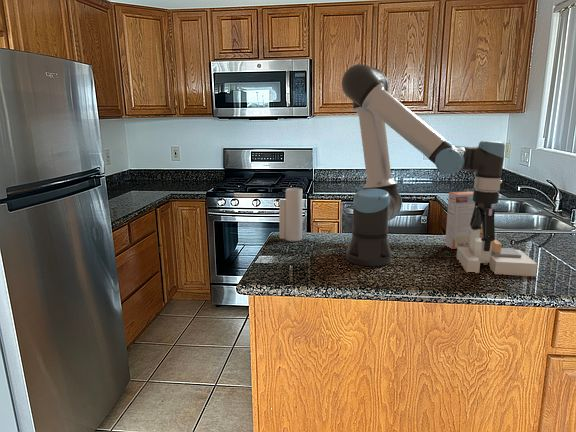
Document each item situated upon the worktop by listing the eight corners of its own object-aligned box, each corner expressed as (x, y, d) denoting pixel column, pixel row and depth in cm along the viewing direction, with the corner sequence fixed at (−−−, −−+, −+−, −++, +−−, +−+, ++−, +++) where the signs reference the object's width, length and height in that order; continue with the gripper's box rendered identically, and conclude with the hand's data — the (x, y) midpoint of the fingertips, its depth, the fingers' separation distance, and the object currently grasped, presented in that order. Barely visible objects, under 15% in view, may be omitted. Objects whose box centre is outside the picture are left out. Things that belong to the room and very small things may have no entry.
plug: (473, 265, 141) (475, 241, 140) (469, 261, 146) (471, 237, 144) (489, 266, 140) (492, 242, 139) (485, 262, 145) (487, 238, 144)
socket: (466, 272, 135) (467, 260, 134) (456, 257, 150) (457, 246, 149) (535, 276, 132) (537, 263, 131) (518, 261, 146) (519, 249, 145)
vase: (305, 239, 172) (306, 189, 168) (291, 242, 168) (291, 191, 163) (287, 233, 181) (287, 186, 176) (273, 236, 176) (273, 187, 172)
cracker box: (477, 244, 167) (482, 190, 162) (486, 248, 161) (492, 193, 156) (443, 245, 164) (448, 191, 160) (452, 250, 158) (457, 193, 154)
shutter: (495, 256, 138) (496, 244, 137) (488, 249, 145) (490, 238, 145) (521, 257, 137) (522, 245, 136) (513, 250, 144) (514, 239, 143)
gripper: (512, 197, 125) (502, 267, 130) (488, 185, 150) (480, 244, 154) (484, 196, 127) (476, 265, 131) (465, 184, 151) (458, 242, 155)
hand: (478, 254), depth 143 cm, fingers open, 13 cm apart
